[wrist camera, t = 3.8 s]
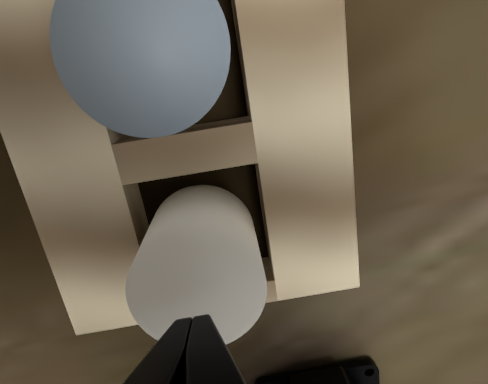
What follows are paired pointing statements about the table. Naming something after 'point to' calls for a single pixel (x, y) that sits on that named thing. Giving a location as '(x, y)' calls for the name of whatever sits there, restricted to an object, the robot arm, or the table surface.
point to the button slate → (141, 61)
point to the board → (189, 157)
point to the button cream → (198, 265)
